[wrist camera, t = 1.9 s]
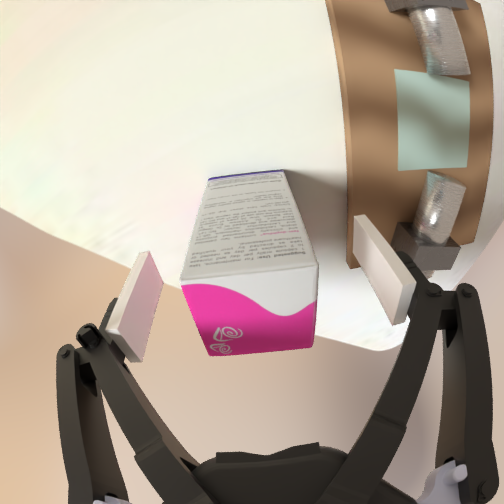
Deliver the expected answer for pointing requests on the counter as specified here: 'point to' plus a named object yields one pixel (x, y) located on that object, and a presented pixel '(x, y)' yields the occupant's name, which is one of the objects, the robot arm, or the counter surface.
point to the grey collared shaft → (436, 33)
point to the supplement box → (251, 267)
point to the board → (409, 116)
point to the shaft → (432, 225)
